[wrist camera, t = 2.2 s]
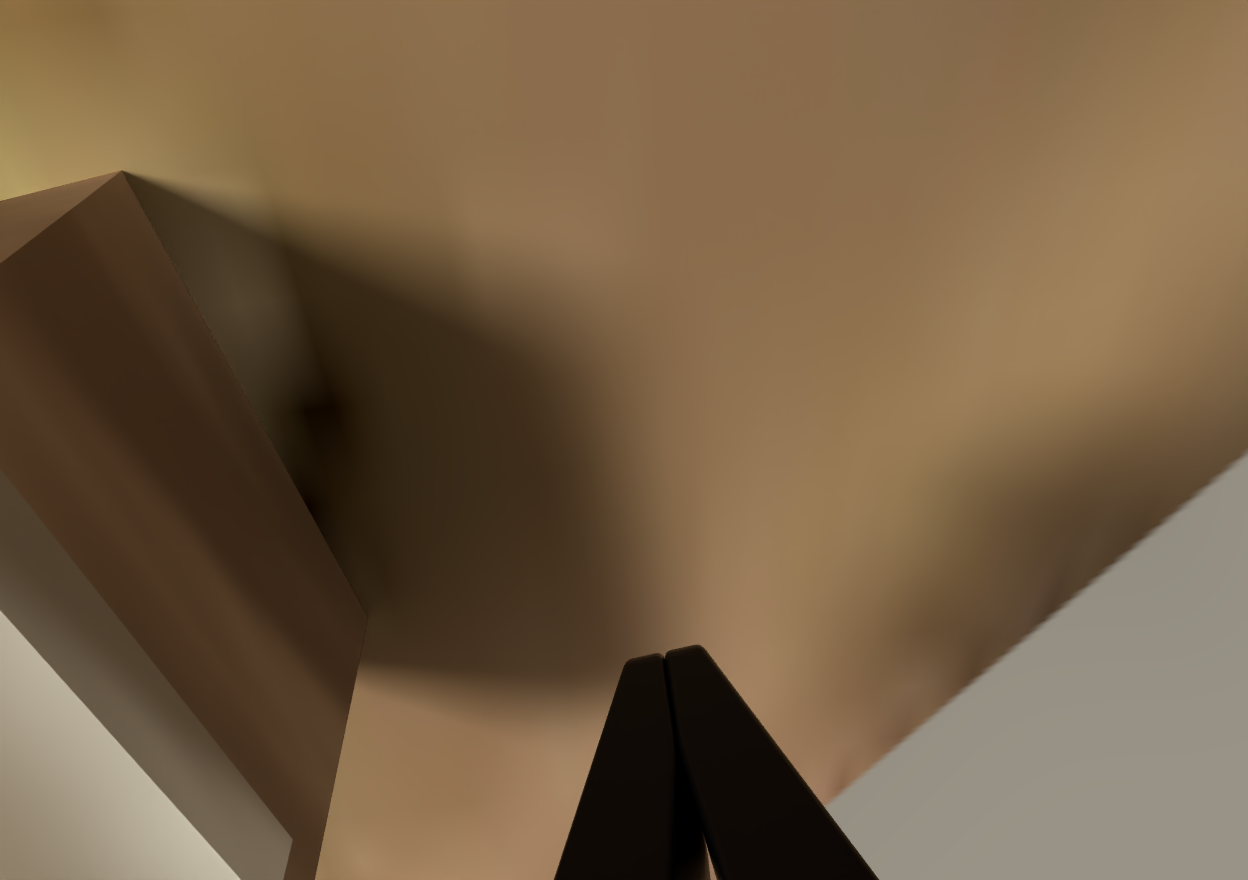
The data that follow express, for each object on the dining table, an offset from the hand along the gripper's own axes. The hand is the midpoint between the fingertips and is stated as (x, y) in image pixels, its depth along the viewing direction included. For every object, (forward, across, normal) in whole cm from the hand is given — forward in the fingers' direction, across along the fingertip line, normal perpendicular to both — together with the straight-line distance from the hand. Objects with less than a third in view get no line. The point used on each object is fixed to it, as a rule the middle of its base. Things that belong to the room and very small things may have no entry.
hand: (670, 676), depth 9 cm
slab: (+8, +8, 0) cm, 11 cm away
